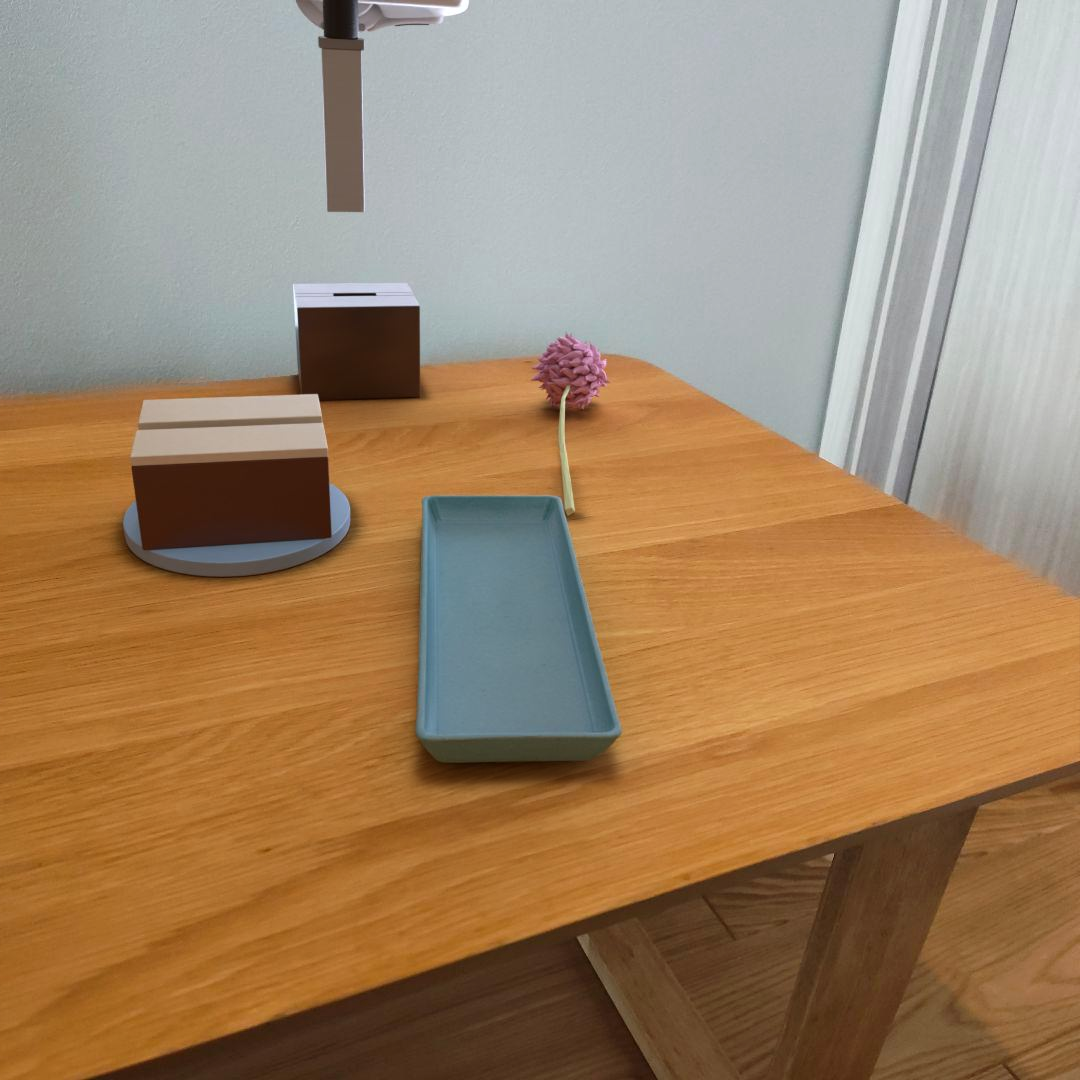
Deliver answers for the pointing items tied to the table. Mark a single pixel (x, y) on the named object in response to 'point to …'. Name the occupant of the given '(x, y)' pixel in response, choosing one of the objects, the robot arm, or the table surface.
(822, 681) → the table surface
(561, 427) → the artificial flower
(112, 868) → the table surface
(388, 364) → the knife block
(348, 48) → the knife
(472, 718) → the teal serving tray
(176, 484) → the cake
